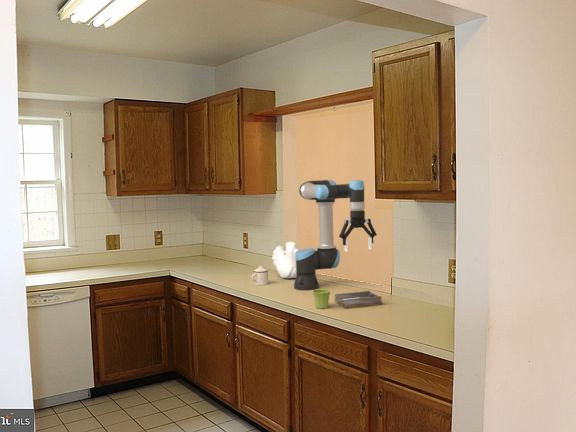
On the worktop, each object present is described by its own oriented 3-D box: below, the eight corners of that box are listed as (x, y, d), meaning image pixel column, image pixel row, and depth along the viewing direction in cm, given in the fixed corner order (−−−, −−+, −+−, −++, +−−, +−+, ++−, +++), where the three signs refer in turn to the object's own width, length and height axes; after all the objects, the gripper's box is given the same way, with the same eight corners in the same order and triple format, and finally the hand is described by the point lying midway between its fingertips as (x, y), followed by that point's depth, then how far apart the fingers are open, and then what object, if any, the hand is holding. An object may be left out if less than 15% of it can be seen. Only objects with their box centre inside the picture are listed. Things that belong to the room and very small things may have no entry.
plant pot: (319, 304, 284) (319, 288, 284) (334, 306, 278) (334, 290, 278) (309, 308, 277) (308, 291, 276) (324, 310, 271) (323, 293, 270)
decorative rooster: (307, 278, 356) (306, 241, 354) (287, 281, 348) (286, 243, 346) (288, 273, 378) (287, 238, 376) (268, 276, 369) (267, 240, 368)
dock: (335, 302, 287) (334, 294, 287) (369, 299, 293) (369, 290, 292) (345, 308, 273) (345, 300, 273) (381, 304, 279) (381, 296, 279)
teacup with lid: (262, 282, 350) (261, 264, 349) (271, 283, 343) (270, 265, 342) (247, 285, 342) (247, 266, 341) (256, 286, 335) (256, 268, 334)
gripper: (337, 211, 274) (338, 253, 275) (382, 209, 280) (383, 249, 282) (332, 210, 281) (333, 251, 282) (376, 208, 288) (376, 247, 289)
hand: (358, 250), depth 282 cm, fingers open, 13 cm apart
